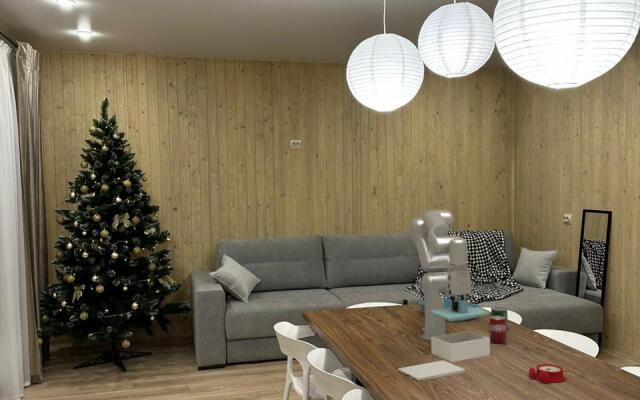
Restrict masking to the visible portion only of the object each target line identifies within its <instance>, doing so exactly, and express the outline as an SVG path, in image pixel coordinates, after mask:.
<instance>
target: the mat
mask: <svg viewBox="0 0 640 400" xmlns="http://www.w3.org/2000/svg"><path fill="white" fill-rule="evenodd" d="M398 370H399V371H401V372H403V373H405V374H407V375H409V376H411V377H412V378H411V377H410V378H411V379H413V378H414V379H416V380H418V381H417V382H421V381H420V380H423V381H427V379H428V380H431V379H437V378H442V377H448V376H453V375H457V374H463V373H466V369H465V368H462V367H460V366H458V365H455V364H453V363H452V362H450V361H447V360H445V359H444V360H443V359H442V360H437V361H432V362H428V363H421V364H416V365H410V366H405V367H400V368H397V371H398ZM399 371H398V372H399ZM401 372H400V373H401ZM403 373H402V374H403ZM405 374H404V375H405ZM407 375H406V376H407ZM409 376H408V377H409ZM414 379H413V380H414ZM416 380H415V381H416Z"/></svg>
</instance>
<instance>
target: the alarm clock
mask: <svg viewBox="0 0 640 400" xmlns="http://www.w3.org/2000/svg"><path fill="white" fill-rule="evenodd" d="M565 372H566V373H567V372H570V370H564V369H563V367H561V365H556V364H549V363H546V364H545V363H544V364H543V363H542V364H539V365H536V369H535V367H530V368H529V370H528V374H527V377H529V378H531V379H532V380H538V381H539V382H540V383H542V384H548V383H554V384H555V383H562V382H565V380H566V377H565V375H564V373H565Z"/></svg>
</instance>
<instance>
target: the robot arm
mask: <svg viewBox="0 0 640 400" xmlns="http://www.w3.org/2000/svg"><path fill="white" fill-rule="evenodd" d="M454 221H455V220H454V214H453V213H452V212H451V211H450V210H447V209H436V210H435V209H434V210H432V209H431V210H427V211H426V212H425V213H423V215H422V217H417V218H413V219H412V220H410V223H409V234H410V237H411V240H412V242H413V243H414V245H415V247H416V250H417V254H418V258H419V262H420V267H421V269H422V270H423V271H424V272H426V274H424V275H422V278H421V283H422V290H423V299H424V300H423V301H424V302H425V314H424V327H422V330H421V331H424V333H423V334H422V335H421V338H422V339H423V340H425V341H429V342H431V337H434V336H440V335H446V320H445V319H442V318H439V317H437V316H434V314H431V313H429V311H433V310H440V309H445V302H444V299H445V298H443V297H442V295H441V294H440V293H445V292H446V293H445V294H444V295H445V297H447V299H451V301H452V310H454V311H458V302H457V298H458V296H459V299H461V300H464V301H468V300H467V299H468V297H469V296H470V295H471V294H472V279H471V278H472V277H471V274H470V273H471V272H470V270H469V269H468V241H467V240H466V239H464V238H463V237H461V236H457V235H454V236H453V235H451V236H449V235H448V233H449V230H450V228H452V226H453V225H454ZM447 235H448V236H447Z"/></svg>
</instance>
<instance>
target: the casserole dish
mask: <svg viewBox="0 0 640 400" xmlns="http://www.w3.org/2000/svg"><path fill="white" fill-rule="evenodd" d="M443 299H444V302H445V309H447V308H450V298H443ZM419 305H420V308H421V311H422V312H423V314H424V315H425V302H424V300H423V301H420V302H419ZM468 306H470V307H474V308H475V307H478V308H481V306H480V305H478V304H474V303H471V302H468ZM473 319H475V318H470V319H463V320H457V321H453V322H456V323H457V322H464V321H469V320H473Z"/></svg>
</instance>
